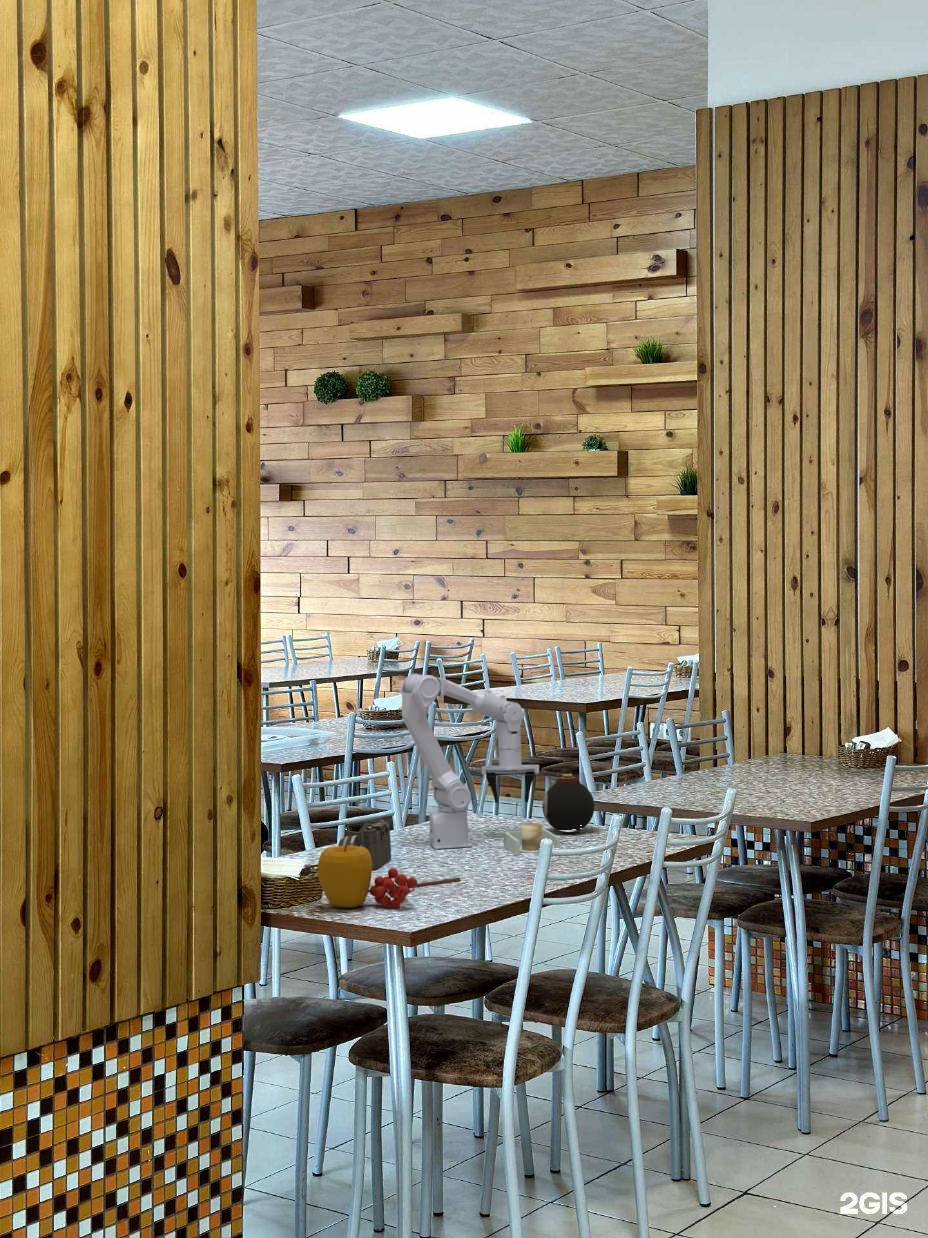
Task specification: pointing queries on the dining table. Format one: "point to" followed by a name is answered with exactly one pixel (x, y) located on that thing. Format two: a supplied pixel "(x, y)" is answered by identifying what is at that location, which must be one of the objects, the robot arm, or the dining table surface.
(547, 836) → the shallow grey tray
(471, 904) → the dining table surface
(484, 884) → the dining table surface
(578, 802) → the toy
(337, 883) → the apple
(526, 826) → the birch cylinder
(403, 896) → the decorative berry sprig
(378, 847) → the camera
